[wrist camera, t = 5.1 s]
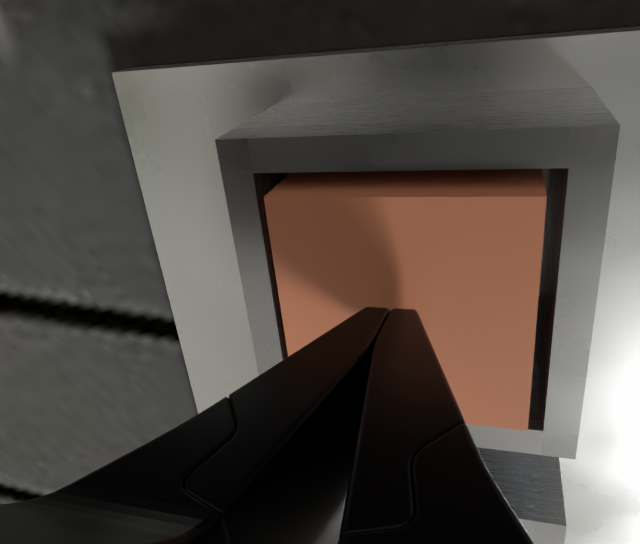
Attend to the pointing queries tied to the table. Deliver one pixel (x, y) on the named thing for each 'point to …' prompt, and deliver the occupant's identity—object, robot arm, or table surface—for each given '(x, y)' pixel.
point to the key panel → (417, 155)
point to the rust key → (421, 268)
